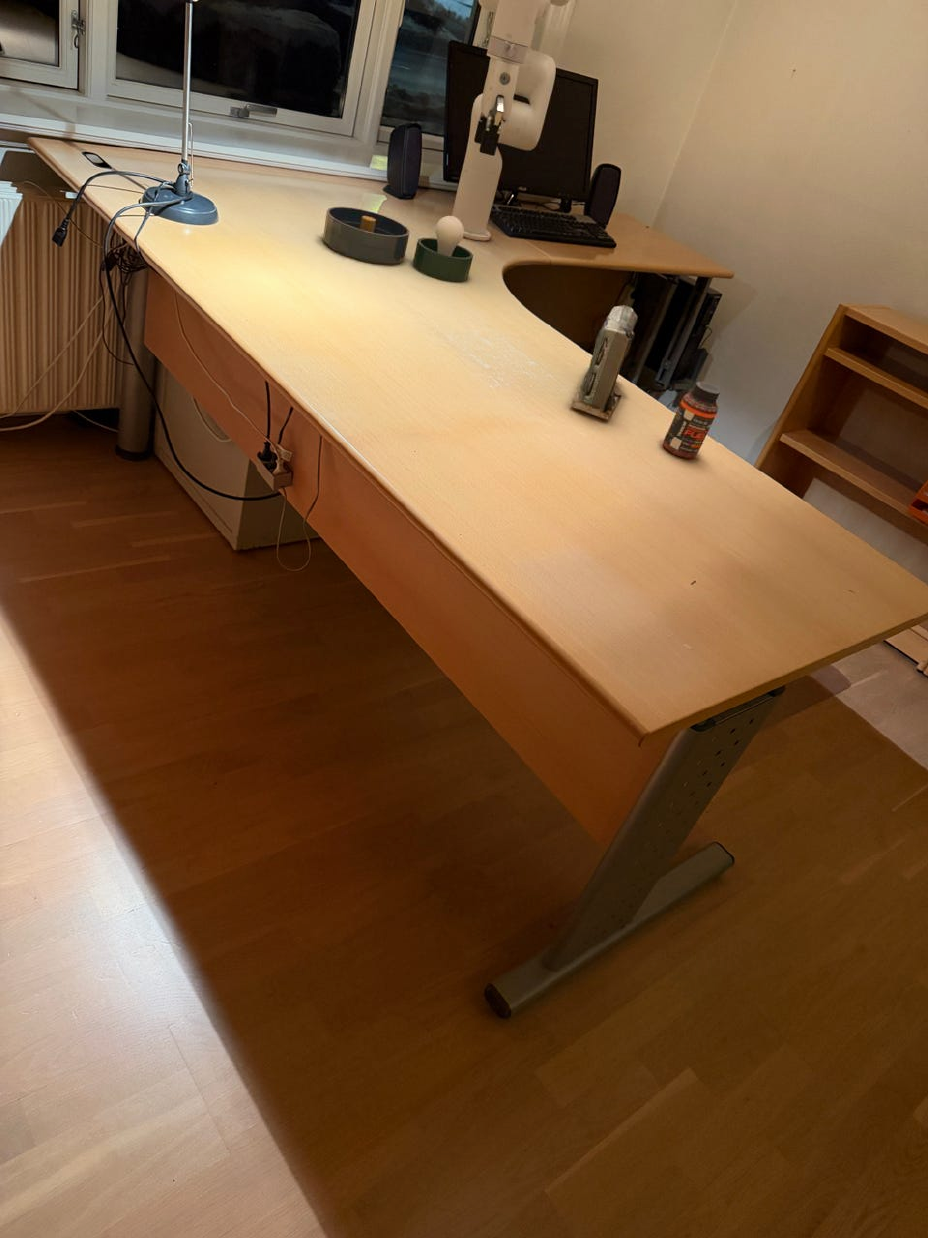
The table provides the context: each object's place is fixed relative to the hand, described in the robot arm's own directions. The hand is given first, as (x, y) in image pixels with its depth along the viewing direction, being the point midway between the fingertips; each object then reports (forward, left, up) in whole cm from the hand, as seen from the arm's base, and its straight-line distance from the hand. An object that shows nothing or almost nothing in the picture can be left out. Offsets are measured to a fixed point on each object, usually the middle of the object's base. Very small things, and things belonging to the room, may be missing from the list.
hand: (483, 148), depth 172 cm
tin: (+3, -4, -25) cm, 25 cm away
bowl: (0, -21, -25) cm, 32 cm away
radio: (+57, +19, -25) cm, 65 cm away
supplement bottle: (+74, +30, -25) cm, 84 cm away
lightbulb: (+3, -4, -25) cm, 25 cm away
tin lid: (0, -21, -24) cm, 32 cm away
